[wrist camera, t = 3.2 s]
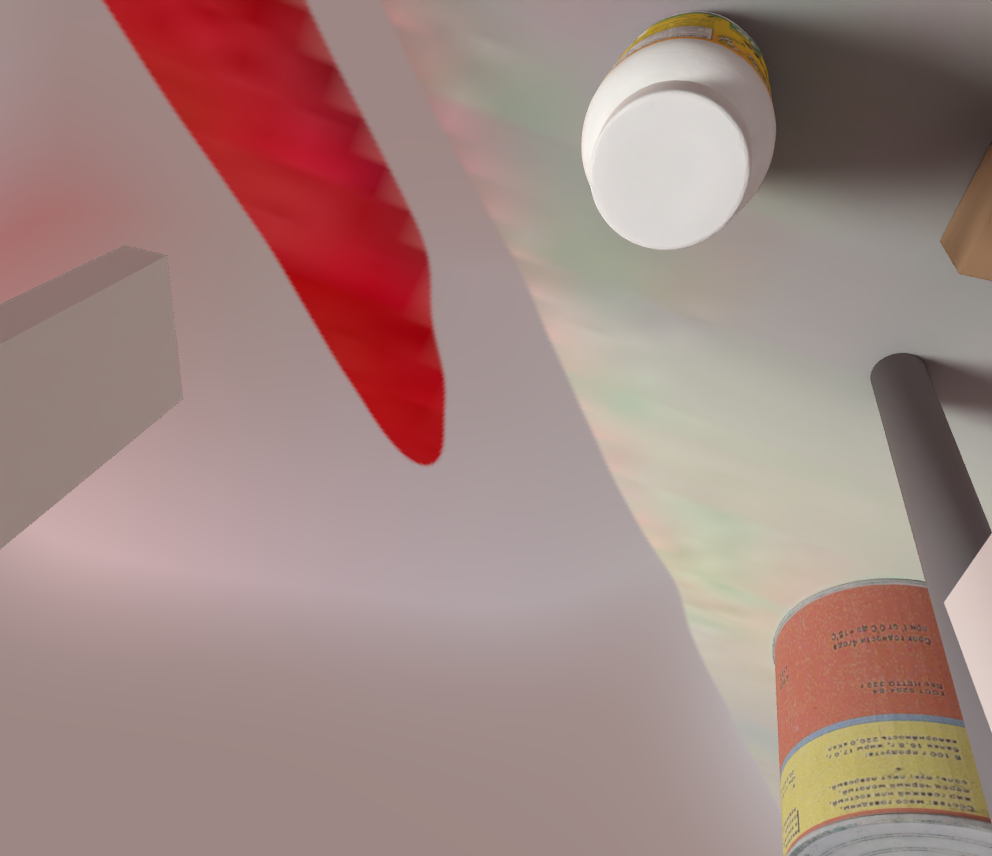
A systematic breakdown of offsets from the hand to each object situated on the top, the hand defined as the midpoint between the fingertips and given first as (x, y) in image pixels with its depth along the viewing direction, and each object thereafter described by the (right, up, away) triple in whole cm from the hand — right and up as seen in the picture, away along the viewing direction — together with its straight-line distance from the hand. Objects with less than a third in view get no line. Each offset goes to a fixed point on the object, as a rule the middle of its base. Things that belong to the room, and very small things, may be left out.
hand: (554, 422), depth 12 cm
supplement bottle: (+6, +12, +14) cm, 20 cm away
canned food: (+20, -12, +27) cm, 35 cm away
